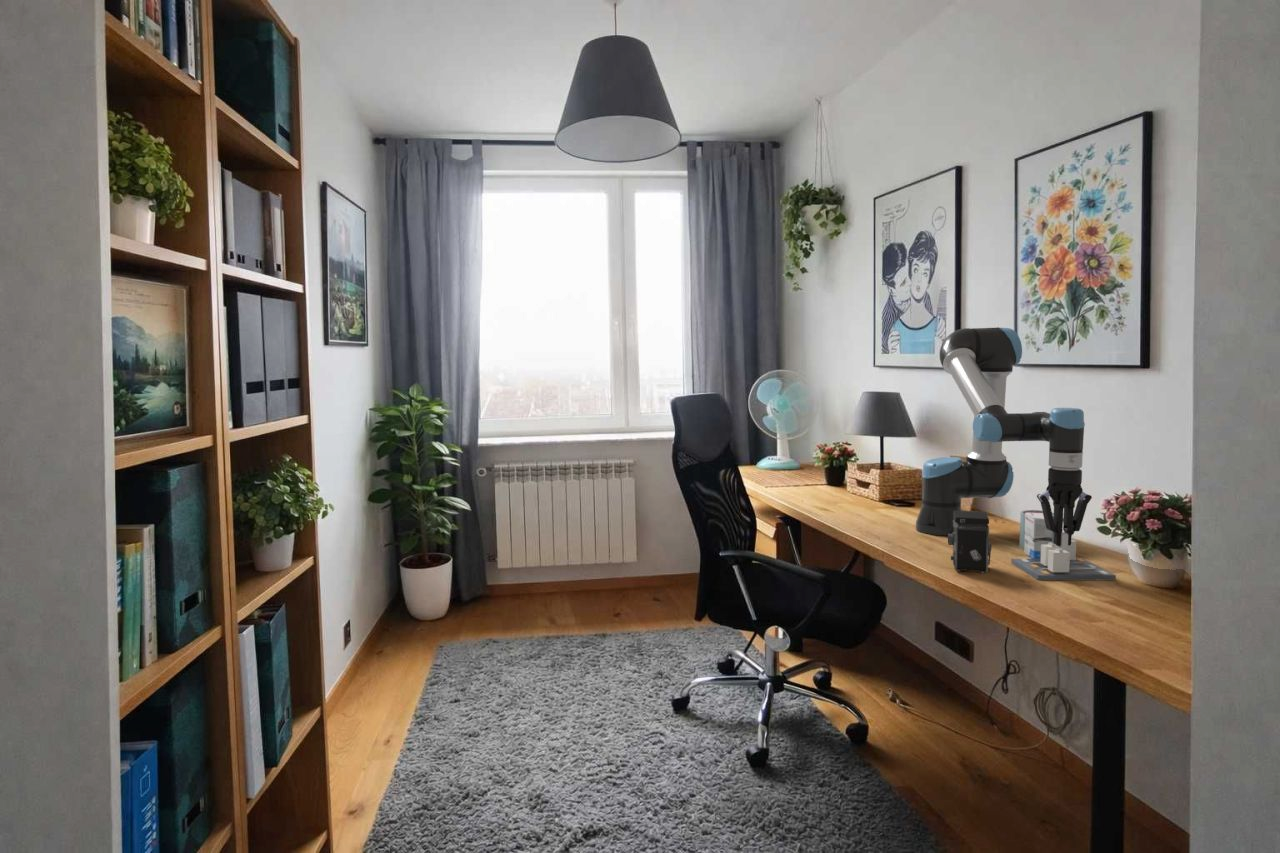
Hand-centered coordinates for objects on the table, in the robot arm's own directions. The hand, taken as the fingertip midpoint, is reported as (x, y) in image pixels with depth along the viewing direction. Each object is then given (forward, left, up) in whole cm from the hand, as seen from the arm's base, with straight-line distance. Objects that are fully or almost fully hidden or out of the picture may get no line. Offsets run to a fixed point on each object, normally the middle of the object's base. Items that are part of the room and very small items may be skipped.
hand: (1061, 557), depth 192 cm
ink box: (-14, 0, -4) cm, 15 cm away
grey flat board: (0, 0, -4) cm, 4 cm away
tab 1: (0, -3, -2) cm, 3 cm away
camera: (-3, -23, -4) cm, 23 cm away
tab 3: (-5, +4, -2) cm, 7 cm away
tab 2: (+5, -3, -2) cm, 7 cm away
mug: (-24, +7, -4) cm, 25 cm away
